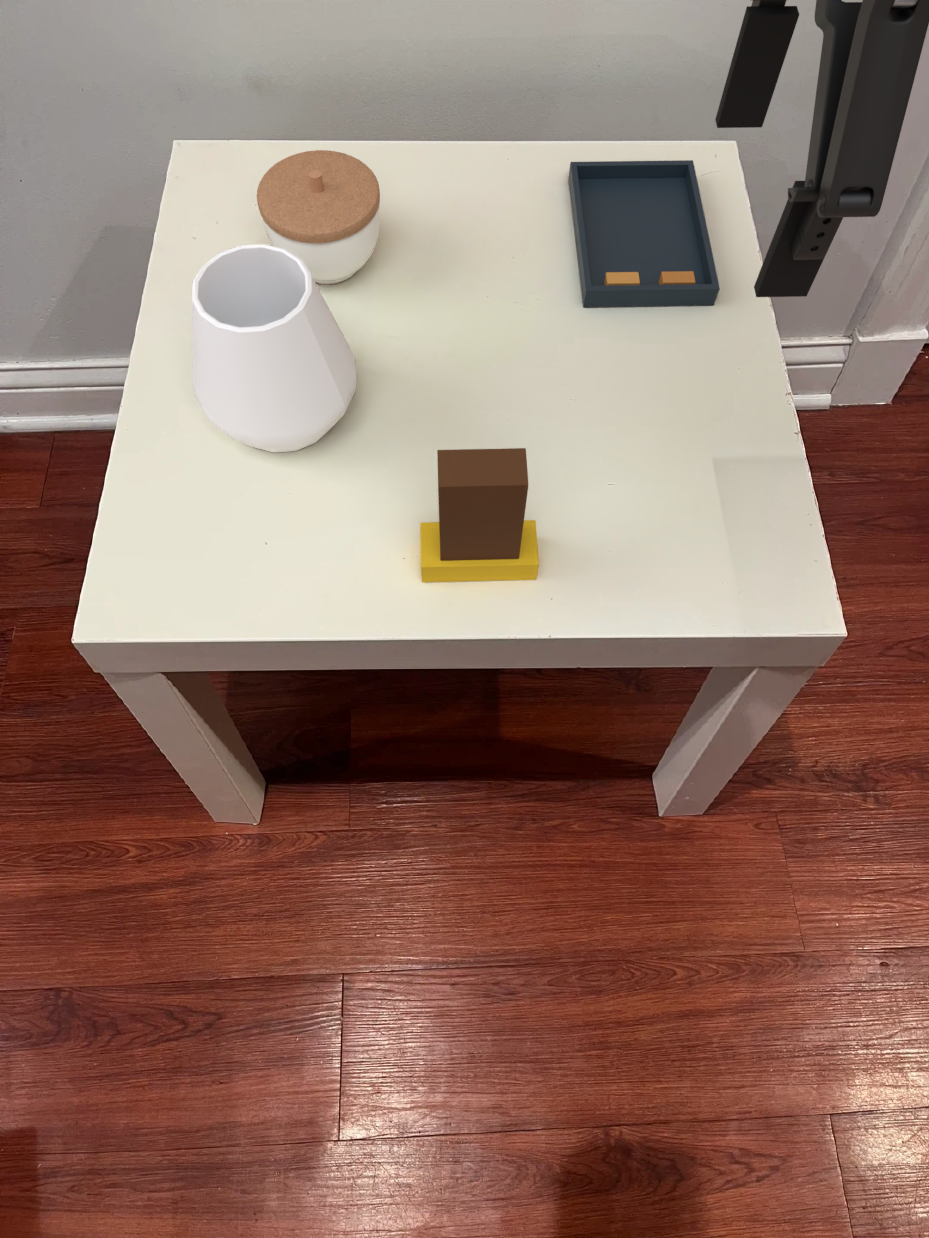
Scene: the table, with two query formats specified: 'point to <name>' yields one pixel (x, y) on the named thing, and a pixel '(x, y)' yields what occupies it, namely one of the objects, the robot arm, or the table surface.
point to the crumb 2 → (677, 278)
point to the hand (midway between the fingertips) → (757, 203)
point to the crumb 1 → (621, 278)
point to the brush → (480, 519)
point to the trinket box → (322, 211)
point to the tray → (640, 232)
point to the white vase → (267, 350)
